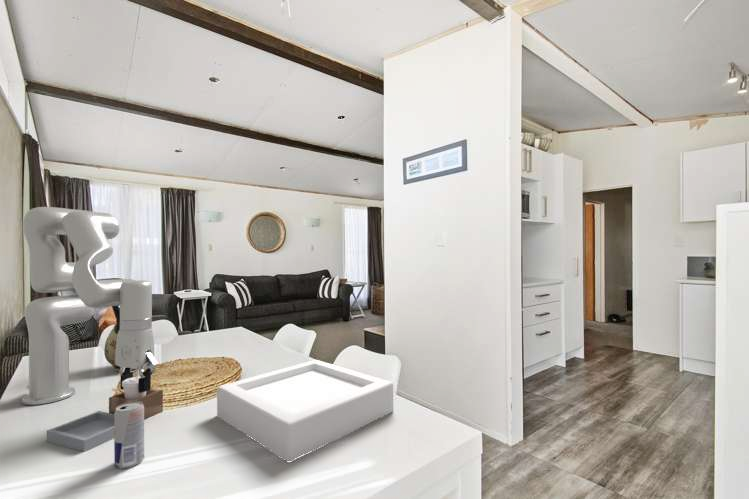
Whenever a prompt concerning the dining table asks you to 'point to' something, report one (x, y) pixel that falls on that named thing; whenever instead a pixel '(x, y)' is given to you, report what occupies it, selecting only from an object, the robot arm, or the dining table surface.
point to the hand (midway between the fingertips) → (135, 388)
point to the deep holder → (150, 401)
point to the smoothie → (132, 387)
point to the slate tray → (84, 431)
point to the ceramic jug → (113, 340)
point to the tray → (303, 405)
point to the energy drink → (128, 435)
